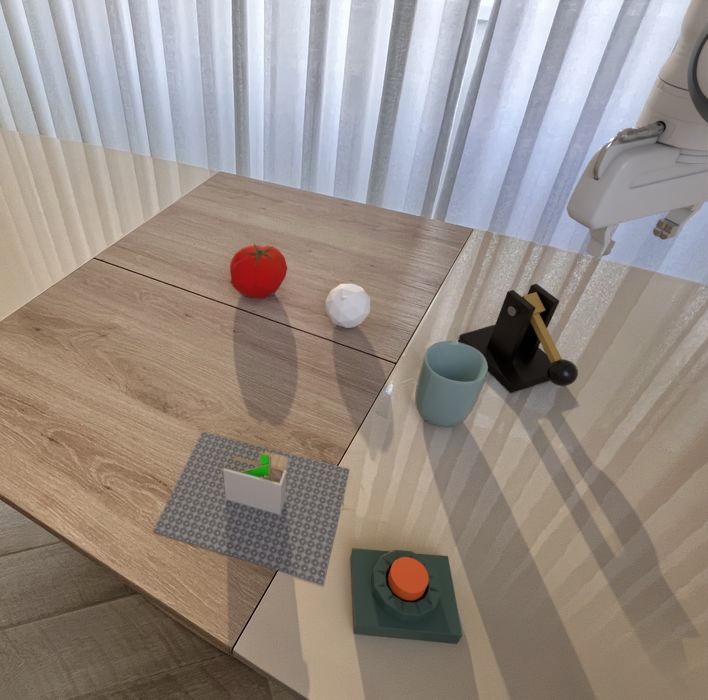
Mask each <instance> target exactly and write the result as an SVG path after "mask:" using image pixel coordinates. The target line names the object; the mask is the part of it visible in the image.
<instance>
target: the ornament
mask: <svg viewBox="0 0 708 700" xmlns="http://www.w3.org/2000/svg"><path fill="white" fill-rule="evenodd" d="M324 306H325V314H326V315H327V317H328V318H329V320H330V321H331V323H332V324H334V325H336V326H339V327H342V328H346V329H349V328H356V327H357V326H359V325H361V324H362V323H363V322H364V321H365V320H366V319H367V317H368V316H369V315H370V314H371V297H370V295H369V294H368V293H367V292H366V290H365V289H364V288H363V287H362V286H359V285H357V284H355V283H339V285H337V286H336V287H334V288H333V289H331V290H330V291H329V293H328V295H327V297H326V300H325V305H324Z"/></svg>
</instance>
